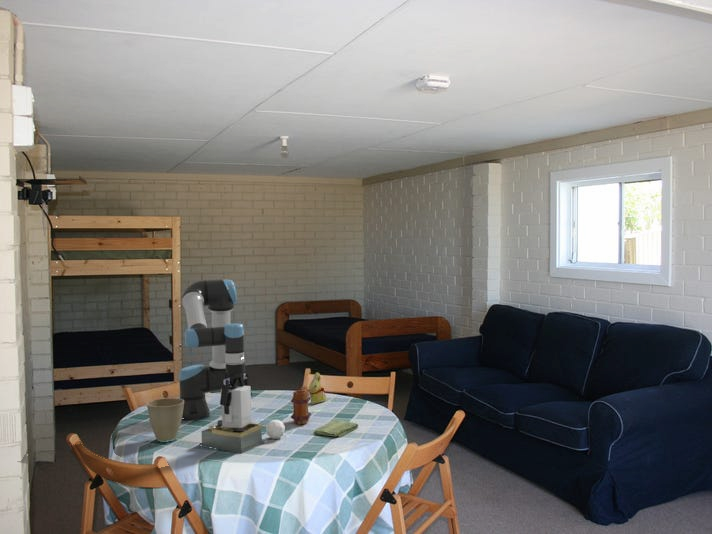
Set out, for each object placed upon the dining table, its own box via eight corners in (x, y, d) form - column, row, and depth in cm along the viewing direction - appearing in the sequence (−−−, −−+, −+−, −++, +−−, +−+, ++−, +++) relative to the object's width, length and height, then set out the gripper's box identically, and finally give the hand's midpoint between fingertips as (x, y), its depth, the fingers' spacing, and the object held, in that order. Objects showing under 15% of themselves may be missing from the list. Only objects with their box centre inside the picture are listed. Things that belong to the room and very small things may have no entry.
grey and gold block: (199, 446, 273) (198, 426, 272) (223, 436, 285) (222, 417, 285) (241, 453, 262) (241, 432, 262) (264, 443, 275) (264, 423, 274)
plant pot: (165, 447, 272) (164, 408, 271) (140, 442, 280) (138, 404, 279) (193, 437, 285) (191, 400, 284) (168, 433, 293) (166, 396, 292)
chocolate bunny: (305, 404, 337) (305, 374, 337) (321, 399, 346) (320, 370, 345) (315, 406, 333) (314, 375, 332) (331, 401, 341) (330, 371, 340)
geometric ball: (274, 443, 283) (277, 425, 288) (287, 439, 278) (290, 421, 283) (260, 437, 279) (263, 419, 283) (273, 433, 274) (276, 415, 278)
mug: (307, 426, 298) (306, 392, 297) (289, 425, 299) (288, 391, 299) (315, 417, 312) (314, 384, 311) (298, 416, 314) (297, 384, 313)
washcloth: (311, 435, 285) (311, 427, 285) (335, 425, 300) (335, 417, 300) (337, 439, 278) (337, 432, 278) (361, 429, 293) (360, 421, 293)
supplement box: (252, 422, 275) (251, 385, 274) (241, 428, 266) (240, 390, 265) (232, 421, 278) (231, 384, 277) (221, 427, 269) (220, 389, 268)
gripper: (224, 368, 259) (226, 426, 260) (259, 358, 279) (261, 413, 280) (208, 367, 263) (210, 424, 264) (245, 357, 282) (247, 411, 283)
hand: (237, 418), depth 272 cm, fingers closed on supplement box, 10 cm apart
